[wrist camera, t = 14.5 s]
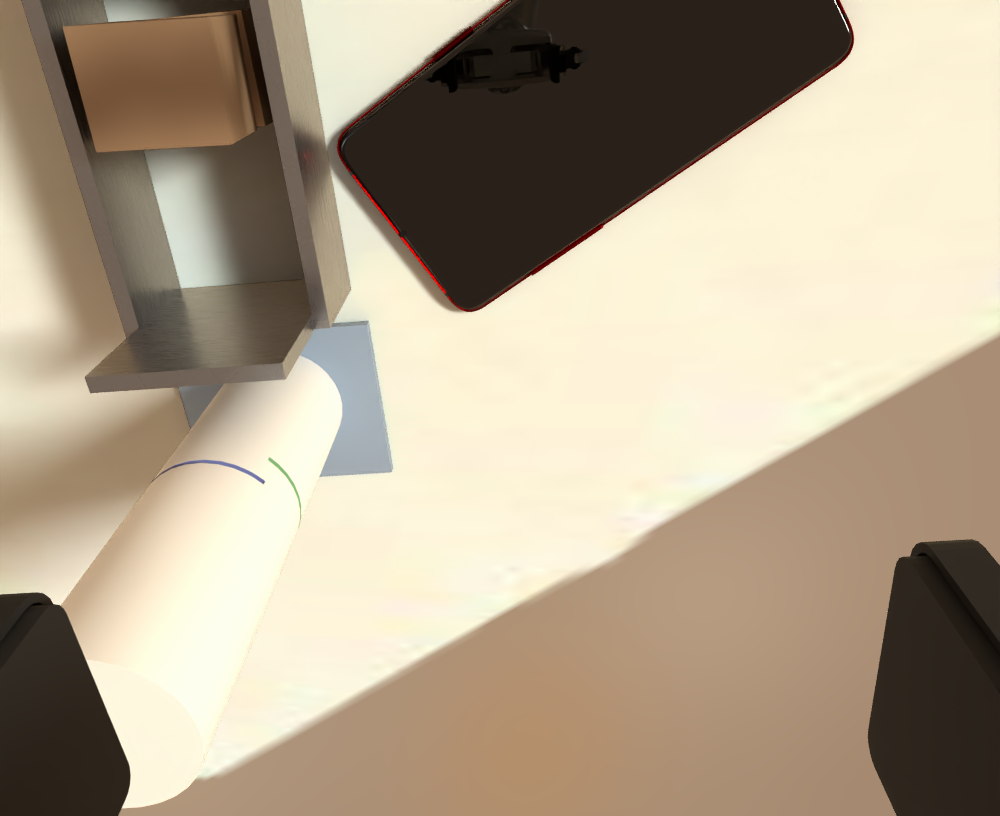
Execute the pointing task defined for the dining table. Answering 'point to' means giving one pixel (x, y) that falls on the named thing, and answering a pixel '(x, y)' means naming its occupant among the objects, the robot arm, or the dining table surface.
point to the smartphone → (572, 122)
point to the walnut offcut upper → (162, 82)
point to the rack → (143, 242)
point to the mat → (356, 379)
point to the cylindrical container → (200, 571)
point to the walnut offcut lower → (250, 63)
